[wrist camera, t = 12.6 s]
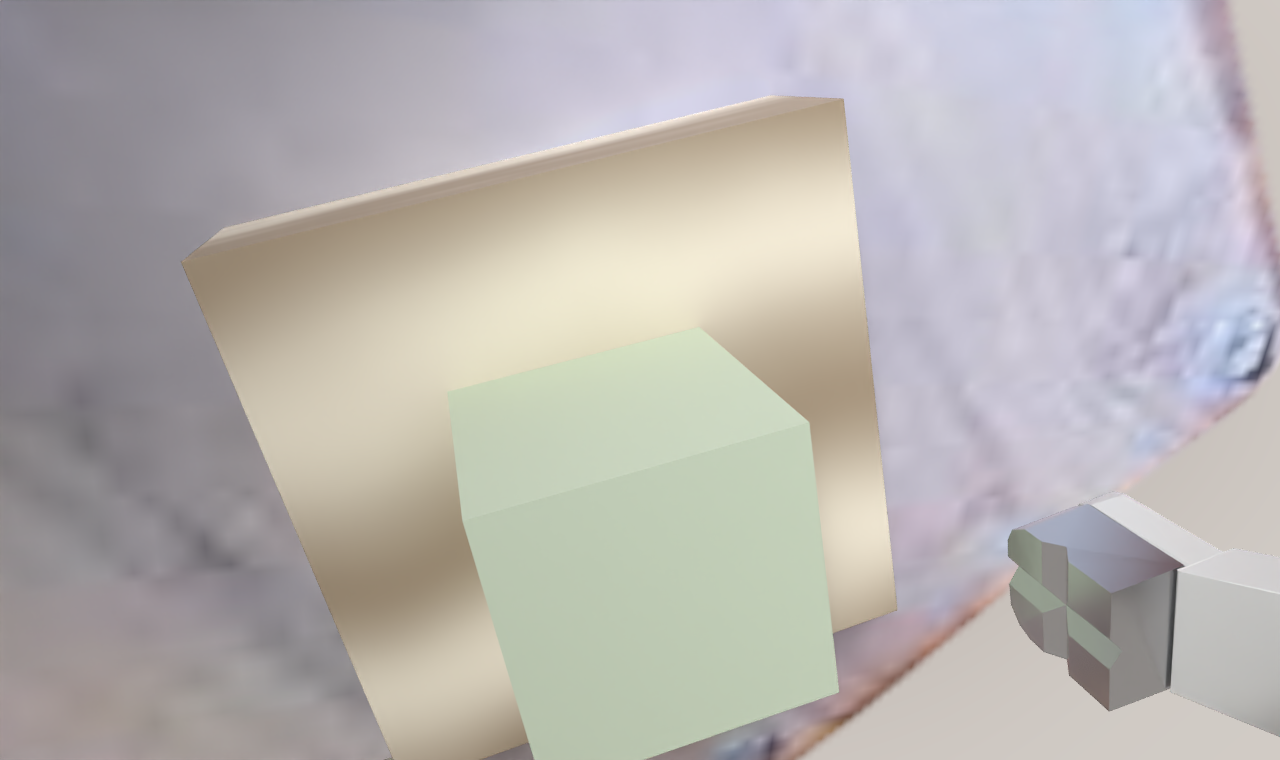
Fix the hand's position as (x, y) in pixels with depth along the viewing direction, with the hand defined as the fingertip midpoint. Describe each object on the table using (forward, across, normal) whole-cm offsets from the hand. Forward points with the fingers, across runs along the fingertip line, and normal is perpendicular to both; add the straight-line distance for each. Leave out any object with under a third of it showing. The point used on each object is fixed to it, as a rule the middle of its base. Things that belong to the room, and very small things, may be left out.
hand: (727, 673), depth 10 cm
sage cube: (+7, 0, +1) cm, 7 cm away
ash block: (+11, 0, +1) cm, 11 cm away
